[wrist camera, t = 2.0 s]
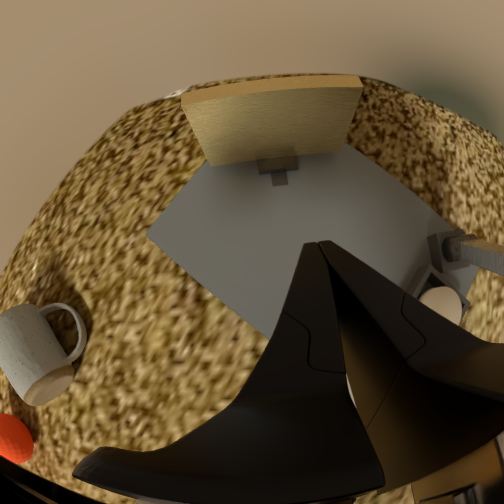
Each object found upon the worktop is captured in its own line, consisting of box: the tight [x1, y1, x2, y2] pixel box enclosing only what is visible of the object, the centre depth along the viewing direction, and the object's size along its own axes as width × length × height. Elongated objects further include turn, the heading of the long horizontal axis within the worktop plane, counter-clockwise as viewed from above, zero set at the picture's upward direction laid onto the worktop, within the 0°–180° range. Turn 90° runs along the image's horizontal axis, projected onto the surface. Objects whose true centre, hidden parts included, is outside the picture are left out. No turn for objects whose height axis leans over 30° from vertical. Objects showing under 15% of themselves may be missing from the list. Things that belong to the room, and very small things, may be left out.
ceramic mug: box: [0, 303, 87, 406], centre depth 19 cm, size 11×8×8 cm
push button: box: [417, 287, 462, 325], centre depth 16 cm, size 4×4×2 cm
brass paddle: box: [181, 75, 364, 175], centre depth 17 cm, size 3×10×8 cm, turn 97°
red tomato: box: [0, 414, 34, 463], centre depth 18 cm, size 8×7×7 cm
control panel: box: [145, 142, 479, 340], centre depth 20 cm, size 16×24×4 cm, turn 52°
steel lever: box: [442, 234, 504, 276], centre depth 13 cm, size 2×3×9 cm
